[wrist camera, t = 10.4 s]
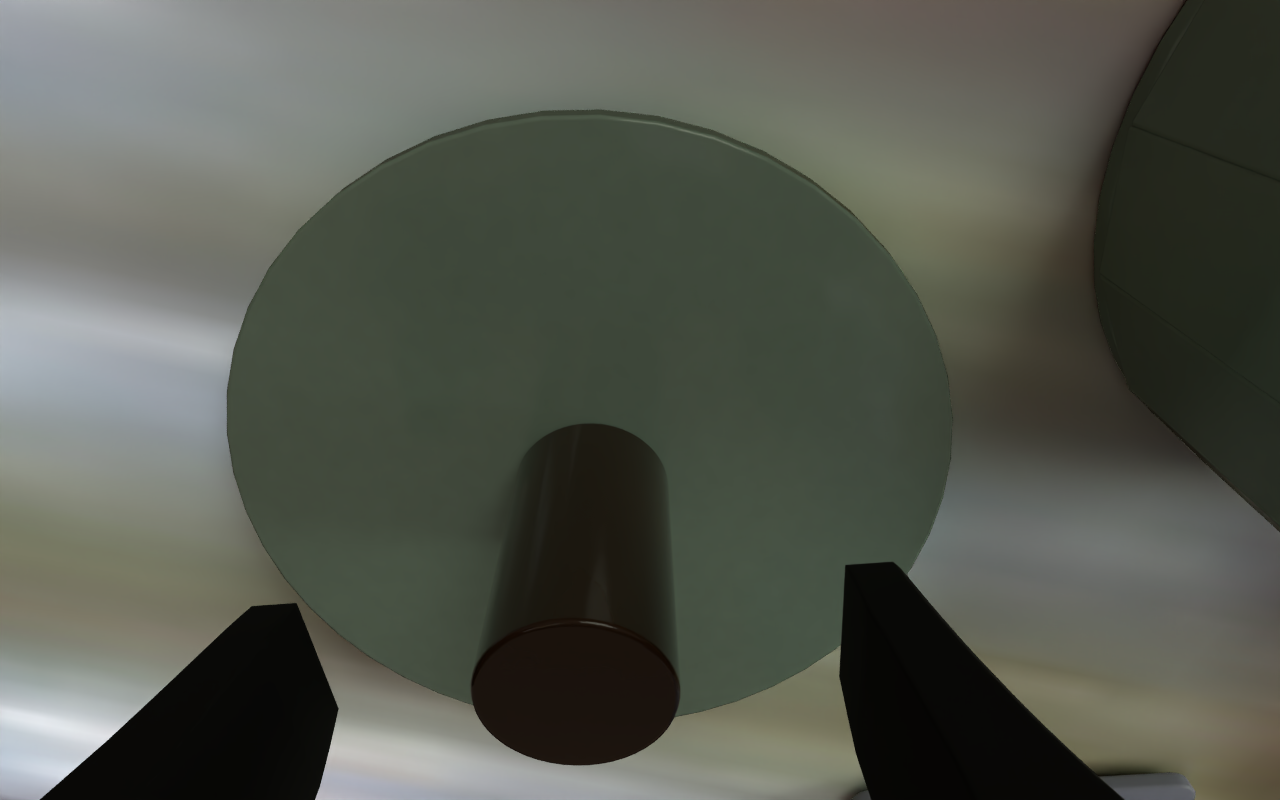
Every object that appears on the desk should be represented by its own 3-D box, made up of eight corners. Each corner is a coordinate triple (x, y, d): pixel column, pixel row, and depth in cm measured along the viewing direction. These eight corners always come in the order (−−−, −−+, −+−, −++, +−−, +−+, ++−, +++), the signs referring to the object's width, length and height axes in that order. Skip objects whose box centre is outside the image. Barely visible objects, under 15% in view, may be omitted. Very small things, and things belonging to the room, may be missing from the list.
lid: (906, 664, 18) (1008, 941, 13) (353, 699, 18) (250, 980, 13) (970, 64, 12) (1212, 152, 7) (142, 139, 12) (-192, 274, 7)
